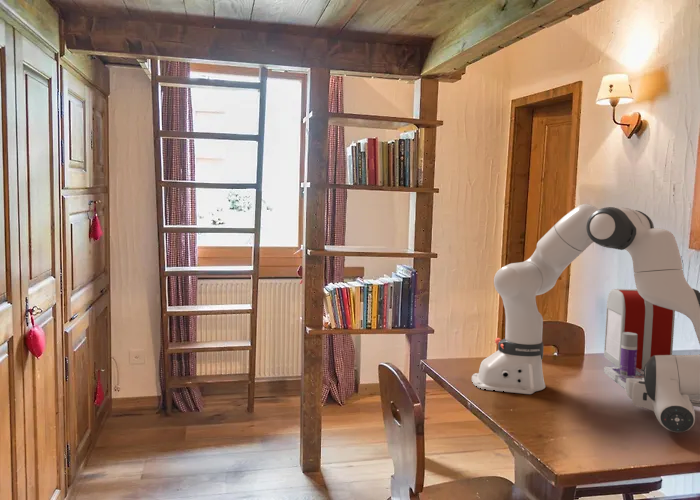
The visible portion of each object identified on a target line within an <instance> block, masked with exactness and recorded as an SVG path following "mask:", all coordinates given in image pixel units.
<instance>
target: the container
mask: <svg viewBox="0 0 700 500" xmlns="http://www.w3.org/2000/svg"><path fill="white" fill-rule="evenodd" d="M636 358H637V334H636V333H631V332H623V333H622V344H621V359H620V375H626V376H635V375H636Z"/></svg>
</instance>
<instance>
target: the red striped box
mask: <svg viewBox="0 0 700 500" xmlns="http://www.w3.org/2000/svg"><path fill="white" fill-rule="evenodd" d="M675 316H676V311H674V310H670V309H667V308H663V307H660V306H657V305H654V304H652V303H649V302H648V301H646V300H645V299H643V298H642V297H641V296H640V294H639V293H638V291H637V288H632V289H631V288H613V289H611V290H610V291H609V293H608V295H607V300H606V314H605V332H604V333H605V334H604V347H603V348H604V349H603V350H604V351H603V357H604V358H605V359H606V360H608V361H609V362H610V363H612V364H613V365H614V366H615V367H620V359H621V344H622V333H623V332H631V333H636V334H637V358H636V368H638V369H640V370H641V371H644V367H645V364H646V363H647V361H648V360H649V359H650V358H651V357H652V356H654V355H673V351H674V350H673V347H674V336H675V335H674V333H675V330H674V329H675Z"/></svg>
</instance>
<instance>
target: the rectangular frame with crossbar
mask: <svg viewBox="0 0 700 500" xmlns="http://www.w3.org/2000/svg"><path fill="white" fill-rule="evenodd" d="M603 373H604V374H606V376H607V377H609V378H610V379H611V380H613V381H614V382H615V383H616V384H618V385H619V386H620V387H621V388H623V390H624V389H625V390H626V379H627V378H635V379H643V378H644V370H642V369H638V368H636V375H635V376H626V375H620V367H617V366H604V367H603Z"/></svg>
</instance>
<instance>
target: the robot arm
mask: <svg viewBox="0 0 700 500" xmlns="http://www.w3.org/2000/svg"><path fill="white" fill-rule="evenodd" d="M593 243H595V244H596V245H598V246H600V247H604V248H608V249H615V250H621V251H626V252H627V253H629V255H630V257H631V260H632V265H633V268H632V269H633V276H634V282H635V283H634V284H635V287H636V288H635V289H637V291H638V293H639V294H640V296H641V297H642V298H643V299H645V300H646V301H648V302H649V303H652V304H654V305H657V306H660V307H663V308H667V309H670V310H674V311H675V312H677V313H680V314H682V315H685V316H686V317H687V318H688V319H689V320H690V321H691V323H692V325H693V328H694V331H695V334H696V337H697V340H698V343H699V345H700V291H699V290H698V289H695V288H692V286H691V285H690V284H689V283H688V281H687V279H686V277H685V274H684V270H683V261H682V257H681V254H680V253H681V252H680V250H679V246H678V243H677V240H676V237H675V236H674V234H673V233H672V232H671V231H669V230H667V229H664V228H660V227H659V228H658V227H657V228H656V227H655V226H654V223H653V220H652V219H651V217H649V216H648V215H647V214H646V213H644V212H643V211H640V210H638V209H636V210H635V209H631V208H628V207H614V206H613V207H612V206H606V207H602V208H600V209H599V208H598V207H596V206H594V205H592V204H588V203H582V204H579V205H577V206H576V207H575V208H573V209H571V210H570V211H568V212H567V214H565V215H564V216H563V217H561V218H560V219H559V220H558V221H557V222H556V223H555V224H554V225H553V226H552V227H551V228H550V229H549V230H548V231H547V232H546V233H545V234H544V235H543V236H542V237H541V238H540V239H539V240H538V241H537V243H536V248H535V250H534V252H533V253H532V254H531V256H530V257H529V258H527V259H526V260H524V261H520V262H511V263H509V264H506V265H504V266H502V267H501V268H499V269H498V270H497V271H496V272H495V274H494V277H493V286H494V289H495V291H496V292H497V294H498V295H499V296H500V297H501V300H502V304H503V308H504V314H505V337H504V338H503V339H501V338H500V337H496V338H495V339H494V343H495V344H496V345H497V346H498V347H497V350H496V351H495V352H493V353H492V354H490V355H489V356H487V357H486V358H484V359H483V360H481V363H480V365H479V368H478V369H479V370H478V372H476V373H473V374H472V375H471V382H473V383H472V385H474V386H475V387H476V386H477V387H476V388H477V389H480V388H481V389H480V390H484V389H486V391H493V390H495V391H496V392H503V391H504V392H505V393H512V394H513V393H515V394H524V395H532V394H534V393H535V392H539V391H542V390H544V389H545V388H546V383H545V380H544V373H543V361H542V360H544V359H543V357H544V342H543V323H544V319H543V315H542V314H541V313H540V312H539V308H538V306H537V305H538V304H537V299H536V298H537V296H540V295H544V294H545V293H548V292H549V291H550V290H552V289H554V287H555V285H556V283H557V280H558V279H559V278H560V276H561V275H562V274H563V272H564V271H565V270H566V268H567V267H568V266H569V265H571V263H573V262H574V261H575V260H576V259H577V258H578V257H579V256H580V255H581V254H583V252H584V251H585V250H586V249H588V248H589V247H590V246H591V245H592V244H593ZM643 372H644V378H643V379H635V378H627V379H626V389H625V393H626V395H627V396H628V398H629V399H631V402H632V405H634V406H637V407H640V408H643V409H646V410H650V411H652V412H654V415H655V417H656V419H657V421H658V423H659V424H660V426H662V427H663V428H665V429H666V430H667V431H669V432H673V433H684V432H686V431H689V430H691V428H693V427H694V425H695V422H696V413H695V409H694V407H697V408H698V407H699V408H700V353H698V354H682V355H681V354H672V355H654V356H652V357H651V358H650V359H649V360H648V361H647V363H646V364H645V367H644V370H643Z"/></svg>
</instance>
